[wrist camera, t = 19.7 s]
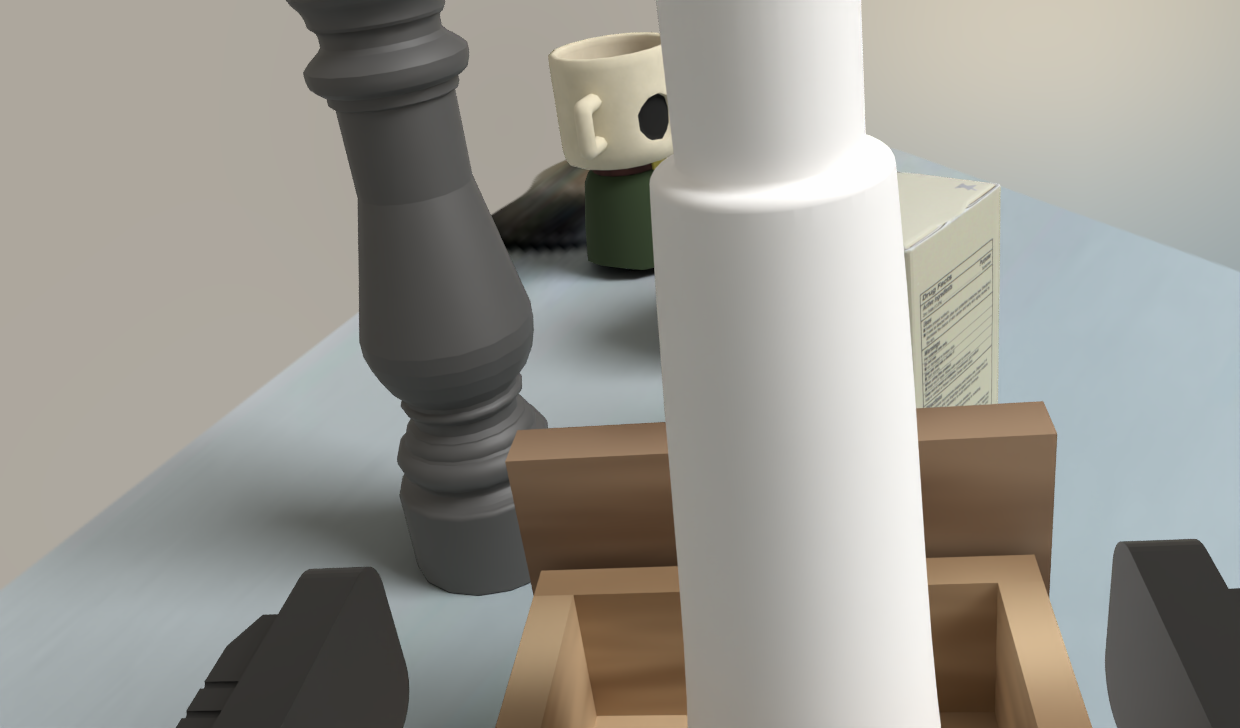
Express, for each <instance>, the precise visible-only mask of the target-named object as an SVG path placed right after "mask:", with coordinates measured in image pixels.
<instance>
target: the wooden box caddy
mask: <svg viewBox="0 0 1240 728" xmlns="http://www.w3.org/2000/svg"><path fill="white" fill-rule="evenodd" d="M916 417H917V433H918V448H919V463H920V479H921V494H922V509H923V525H924V540H925V555H926V568H927V582H928V595H929V608H930V622H931V635H932V646H933V657H934V667H935V678H936V688H937V698H938V706H939V715H940V723H941V728H1092V725H1091V723H1090V720H1089V717H1088V714H1087V711H1086V708H1085V705H1084V702H1083V699H1082V696H1081V693H1080V690H1079V687H1078V684H1077V681H1076V678H1075V675H1074V672H1073V669H1072V666H1071V663H1070V660H1069V657H1068V654H1067V651H1066V648H1065V645H1064V642H1063V639H1062V636H1061V633H1060V630H1059V627H1058V624H1057V621H1056V618H1055V615H1054V612H1053V609H1052V606H1051V603H1050V600H1049V590H1050V570H1051V549H1052V529H1053V509H1054V488H1055V468H1056V448H1057V432H1056V430H1055V428H1054V425H1053V423H1052V421H1051V418H1050V416H1049V414H1048V411H1047V409H1046V407H1045V404H1044V402H1043V401H1041V402H1023V403H1005V404H987V405H968V406H950V407H932V408H916ZM505 463H506V468H507V473H508V477H509V482H510V487H511V491H512V496H513V501H514V505H515V510H516V515H517V520H518V524H519V529H520V534H521V538H522V543H523V548H524V552H525V557H526V562H527V566H528V571H529V576H530V581H531V585H532V590H533V595H534V597H533V600H532V604H531V607H530V611H529V614H528V617H527V621H526V624H525V628H524V631H523V634H522V638H521V641H520V645H519V648H518V652H517V655H516V658H515V662H514V665H513V669H512V672H511V675H510V679H509V682H508V686H507V689H506V693H505V696H504V699H503V703H502V706H501V710H500V713H499V716H498V720H497V723H496V727H495V728H688V724H687V695H686V677H685V658H684V641H683V628H682V615H681V602H680V588H679V575H678V563H677V551H676V539H675V527H674V515H673V504H672V492H671V480H670V468H669V456H668V444H667V433H666V422H658V423H640V424H622V425H604V426H585V427H567V428H549V429H531V430H517V432H516V435H515V438H514V440H513V443H512V445H511V448H510V450H509V453H508V455H507V458H506V461H505Z"/></svg>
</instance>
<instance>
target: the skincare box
mask: <svg viewBox="0 0 1240 728" xmlns="http://www.w3.org/2000/svg"><path fill="white" fill-rule="evenodd" d="M897 180H898V190H899V202H900V213H901V224H902V235H903V246H904V258H905V269H906V280H907V292H908V306H909V319H910V333H911V346H912V360H913V373H914V387H915V402H916V408H932V407H950V406H968V405H987V404H998V353H999V284H1000V191H1001V188H1000V185H999V184H996V183H987V182H978V181H970V180H962V179H954V178H948V177H939V176H931V175H924V174H916V173H906V172H898V171H897Z"/></svg>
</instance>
